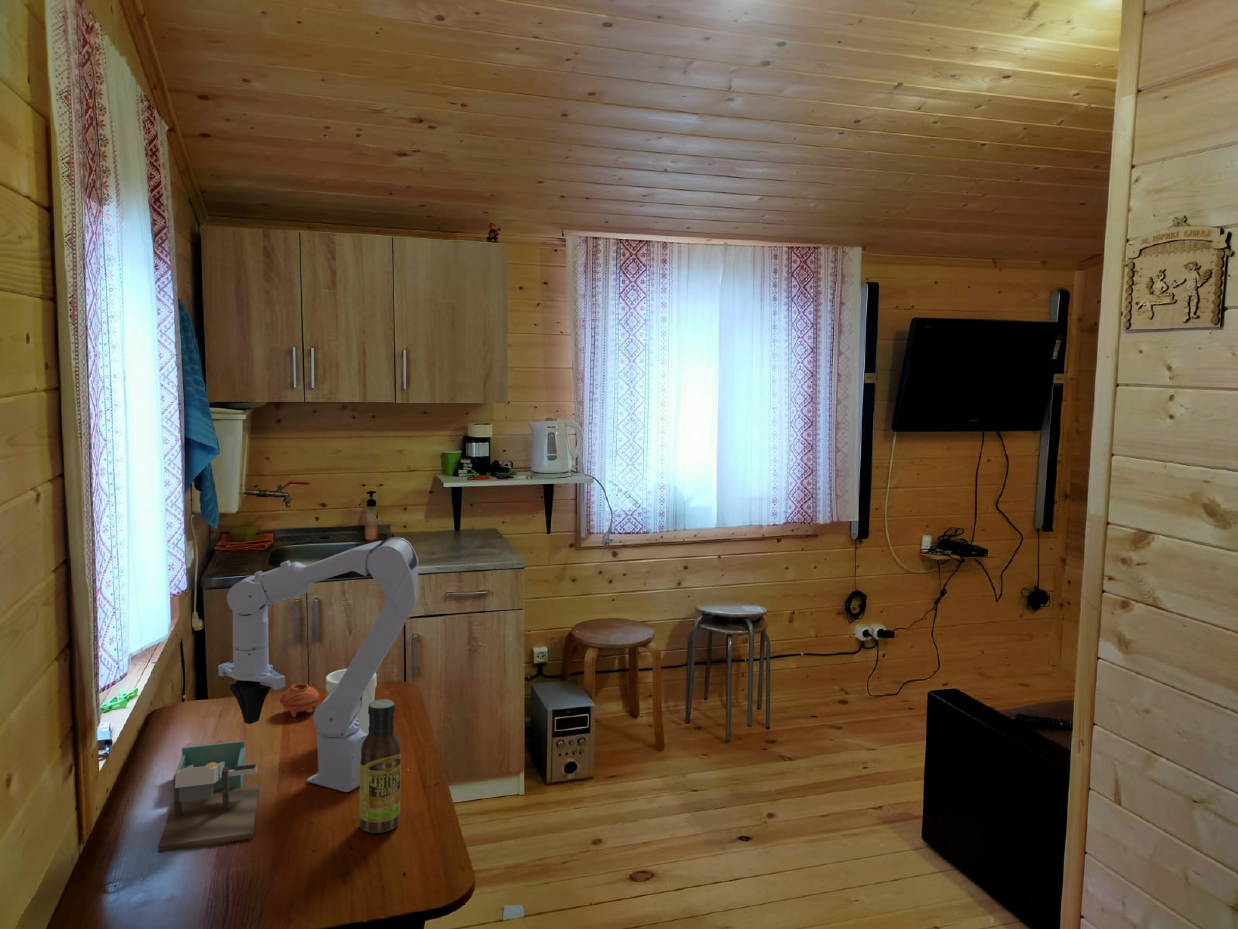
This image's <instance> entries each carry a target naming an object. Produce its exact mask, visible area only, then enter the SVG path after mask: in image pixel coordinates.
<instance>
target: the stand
mask: <svg viewBox="0 0 1238 929" xmlns="http://www.w3.org/2000/svg"><path fill="white" fill-rule="evenodd" d="M172 778H173V779H172V783H173V800H172V803H171V805H170V809H169V812H168V815H167V817H166V820H165V824H164V827H163V830H162V833H161V836H160V837H159V838H160V839H159V842H158V845H157V853H158V852H159V853H163V852H164V853H165V852H171V851H178V850H185V849H192V848H199V847H207V846H213V845H219V843H221V844H226V843H225V842H228V843H234V842H233V841H235V842H237V841H236V840H242V841H244V840H243V839H249V840H253V838H254V833H253V832H255V825H254V824H256V823H255V822H256V818H255V816H256V817H257V810H256V808H257V809H258V803H257V801H259V795H258V794H259V793H260V785H250V786H244V787H243V786H242V788H234V789H229V776H228V767H225V768H223V769H222V790H218V791H214V795H213V796H212V797H210V798H202V799H194V800H187V801H179V788H175V773H174V775H173V777H172ZM231 841H232V842H231Z"/></svg>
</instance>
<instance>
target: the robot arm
mask: <svg viewBox="0 0 1238 929" xmlns="http://www.w3.org/2000/svg"><path fill="white" fill-rule="evenodd" d="M382 542H383V540H379V541H378V540H377V541H373V542H370V543H367V544H366V543H365V544H362V545H358V546H355V547H353V548H350V549H348V550H345V551H342V552H340V553H337V554H335V555H332V556H329V557H327V558H324V559H321V560H319V561H315V562H314V563H311V564H304V563H301V562H299V561H294V562H291V560H286V561H283V562H282V563H280V564H279V565H280V566H278V567H276V568H274V569H271V570H268V571H264V572H263V571H262V570H259V571H256V572H254V575H249V576H247V577H245V578H243V579H242V580H240V581H238V582H236V583H235V584H234V585H232V586H231V587H230V588H229V591H228V592H227V595H226V601H227V604H228V606H229V608H230V609H231V610H232V654H233V656H232V657H233V658H232V659H233V660H232V663H231V662H228V661H227V662H225V663H222V664H219V665H218V666H217V667H218V676H219V677H225V676H226V677H229V678H233V679H234V680H236V681H235V682H234V683H231V684H230V685H229V690H230V691H231V692H232V694H233V695H234V697H235V700H236V701H237V704H238V705H239V709H240V712H241V715H242V719H243V722H244V723H245V724H247V725H251V724H255V723H256V722H259V721H260V717H261V713H262V709H263V706H264V703H265V700H266V698H267V696H268V694H269V692H270V690H271V689H272V690H275V691H277V690H281V689H283V688H285V687H286V675H283V674H280V673H278V672H276V671H275V670H273V669H274V668H273V667H274V666H273V664H269V663H270V662H269V661H270V659H269V658H270V656H269V652H270V651H269V650H270V649H269V647H270V646H269V613H268V612H269V605H274V604H277V603H280V602H283V601H286V600H289V599H293V598H295V597H298V596H302V595H304V594H307V593H308V592H309V590H310V588H311V585H312V584H314V583H316V582H320V581H322V580H326V579H330V578H334V577H335V576H339V575H343V574H347V573H349V572H356V573H358V574H360V575H362V576H365V577H366V576H367V575H368V574H370V576H372V578H373V580H374V581H375V582H376V583H377V584H378V586H380V587H381V590H382V591H383V594H384V597H385V599H386V603H385V605H384V607H383V608H382V610H381V611H380V613H379V615H378V617H377V618H376V620H375V621H374V622H373V625H372V626H371V628H370V630H369V631H368V633H367V635H366V636H365V638H364V640H363V642H362V643H361V645H360V647H359V649H357V652H356V654H355V655H354V656H353V659H352V660H351V662H350V663H349V665H348V667H347V668H346V669H347V670H346V672H345V674H344V675H343V677H342V679H341V680H340V682H339V683H338V685H337V686H336V687H334V688H333V689H332V690H331V691H330V693H329V694H328V693H327V696H326V697H325V699H324V700H323V701H322V702H321V703H320V704H319V705H318V706H317V708H316V710H315V711H313V715H312V722H313V725H314V727H315V729H316V731H317V734H316V738H317V773H315V774H314V775H312V776H310V777H308V778H307V779H306V782H308V783H311V784H315V785H318V786H322V787H325V788H329V789H332V790H333V789H334V790H336V791H339V792H344V793H348V792H351V791H352V790H354V789H356V788H358V787H360V761H361V747H362V743H363V742H364V740H365V738H366V737H367V734H365V733H364V732H363V731H362V730H361V728H360V723H359V720H358V718H357V715H356V714H357V713H358V712H359V711H360V709H361V707H362V700H363V694H364V692H365V690H366V689H367V687H368V684H369V682H370V681H371V679H372V677H373V676H374V674H375V673H377V670H379V667H380V665H381V664H382V662H383V661H384V660H385V657H386V655H387V654H388V652H389V650H390V649H391V647H392V646H393V644H394V642H395V640H396V639H397V637H398V635H399V633H400V632H401V630H402V629H403V627H404V625H405V624H406V622H407V621H408V618H409V617H410V616H411V613H412V612H413V611H414V608H415V607H416V605H417V603H418V600H419V599H420V598H419V594H420V592H419V572H418V570H419V558H418V555H417V553H416V551H415V549H414V547H413V545H412V544H411V542H410V541H408V540H407V539H405V538H402V537H400V536H399V537H396V536H395V537H391V538H388V539H386V540H385V541H384V542H383V543H382Z"/></svg>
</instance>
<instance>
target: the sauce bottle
mask: <svg viewBox="0 0 1238 929" xmlns="http://www.w3.org/2000/svg"><path fill="white" fill-rule="evenodd" d="M395 711H396V703H395V701H393V700H390V699H385V698H384V699H376V700H374V701H373V702H371V703H370V704H369V707H368V713H369V728H368V730H369V734H368V735H367V737H366V738H365V740H364V742H363V743H362V747H361V761H360V786H359V810H358V811H359V815H358V816H359V826H360V829H361V830H363V831H364V832H366V833H370V834H381V833H386V832H389V831H391V830H394V829H395V828H396V827H398V825H399V822H400V813H401V774H402V772H401V770H402V769H401V768H402V766H401V765H402V764H401V763H402V762H401V761H402V756H401V743H400V739H399V738H398V736H397V735H396V733H395V730H394V729H395V726H394V717H395V716H394V714H395Z"/></svg>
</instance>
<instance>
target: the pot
mask: <svg viewBox="0 0 1238 929" xmlns="http://www.w3.org/2000/svg"><path fill="white" fill-rule="evenodd" d="M320 698H321V696H320V693H319V692H318V690H317V689H315V688H314V687H313V686H310V685H309V684H308V683H306V682H299V683H295V684H292V685H291V686H290V687H289V688H287V689H286V690H285V691H284V692H283V694H282V695H281V696H280V698H279V703H280V704H281V705H282V706H283V707H284V708H285V709H286V710H288V711H289V712H290V714H291V716H292V718H296V717H297V714H298V713H301V712H305V711H308V710H311V709H312V710H313V712H314V711H315V710H316V708H317V707H318V706H319V705H318V703H319V700H320Z"/></svg>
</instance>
